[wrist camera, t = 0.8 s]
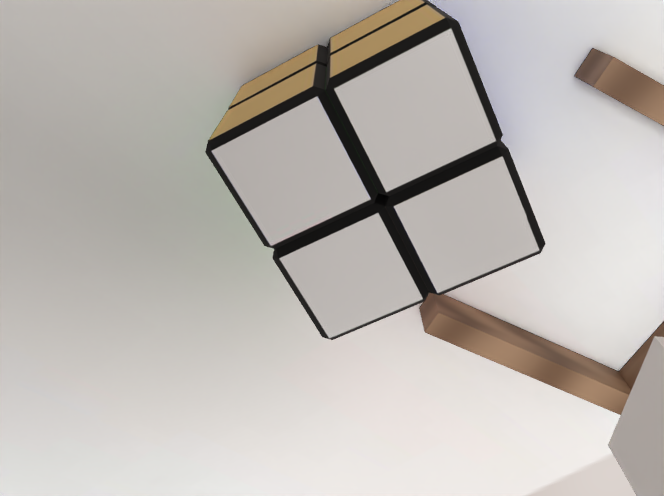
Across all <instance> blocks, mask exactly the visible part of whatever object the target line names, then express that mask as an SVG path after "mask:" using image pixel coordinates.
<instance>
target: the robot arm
mask: <svg viewBox="0 0 664 496" xmlns="http://www.w3.org/2000/svg"><path fill="white" fill-rule="evenodd" d="M608 446H609V448H610V449H611V451H612V453H613V455H614V456H615V458H616V460H617V462H618V464H619V465H620V467H621V469H622V471H623V472H624V474H625V476H626V478H627V480H628V481H629V483H630V485H631V486H632V488H633V490H634V492H635V494H636V496H664V337H657V336H654V339H653V341H652V343H651V346H650V348H649V350H648V353H647V355H646V357H645V360H644V362H643V364H642V367H641V369H640V371H639V374H638V376H637V378H636V381H635V383H634V385H633V388H632V390H631V392H630V395H629V397H628V399H627V402H626V404H625V406H624V409H623V411H622V414H621V416H620V418H619V421H618V423H617V425H616V428H615V430H614V432H613V435H612V437H611V439H610V442H609V444H608Z"/></svg>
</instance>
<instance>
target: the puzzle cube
mask: <svg viewBox="0 0 664 496" xmlns="http://www.w3.org/2000/svg"><path fill="white" fill-rule="evenodd" d="M502 135H503V134H502V132H501V129H500V127H499V124H498V122H497V119H496V116H495V114H494V111H493V109H492V106H491V104H490V101H489V99H488V96H487V93H486V91H485V88H484V86H483V83H482V81H481V78H480V76H479V73H478V71H477V68H476V65H475V63H474V60H473V58H472V55H471V53H470V50H469V48H468V45H467V43H466V40H465V37H464V35H463V32H462V30H461V27H460V25H459V22H458V21H457V20H455V19H454V18H452V17H451V16H449V15H448V14H446V13H445V12H443V11H442V10H440V9H439V8H437V7H436V6H435V5H433V4H432V3H430V2H429V1H427V0H399V1H398V2H396V3H394V4H392V5H390V6H388V7H386V8H385V9H383V10H381V11H379V12H377V13H375V14H374V15H372V16H370V17H368V18H366V19H364V20H362V21H361V22H359V23H357V24H355V25H353V26H351V27H350V28H348V29H346V30H344V31H342V32H340V33H338V34H337V35H335V36H333V37H331V38H330V40H329V44H328V47H324V46H321V45H316V46H314V47H313V48H311V49H309V50H307V51H305V52H303V53H301V54H300V55H298V56H296V57H294V58H292V59H290V60H289V61H287V62H285V63H283V64H281V65H279V66H277V67H276V68H274V69H272V70H270V71H268V72H266V73H265V74H263V75H261V76H259V77H257V78H255V79H254V80H252V81H250V82H248V83H246V84H244V85H242V86H241V88H240V90H239V91H238V93H237V95H236V96H235V98H234V100H233V101H232V103H231V105H230V106H229V109H228V111H227V112H226V113H225V115H224V117H223V118H222V120H221V121H220V123H219V124H218V126H217V128H216V129H215V131H214V132H213V134H212V136H211V137H210V139H209V140H208V144H207V148H206V154H207V155H208V157H209V159H210V160H211V162H212V163H213V165H214V167H215V168H216V170H217V171H218V173H219V174H220V176H221V178H222V179H223V181H224V182H225V184H226V186H227V187H228V189H229V190H230V192H231V193H232V195H233V197H234V198H235V200H236V201H237V203H238V205H239V206H240V208H241V209H242V211H243V212H244V214H245V216H246V217H247V219H248V220H249V222H250V224H251V225H252V227H253V228H254V230H255V231H256V233H257V235H258V236H259V238H260V239H261V241H262V242H263V244H264V246H267V247H270V248H274V253H273V260H274V261H275V263H276V264H277V266H278V267H279V269H280V271H281V272H282V274H283V275H284V277H285V279H286V280H287V282H288V283H289V285H290V286H291V288H292V290H293V291H294V293H295V294H296V296H297V298H298V299H299V301H300V302H301V304H302V305H303V307H304V309H305V310H306V312H307V313H308V315H309V317H310V318H311V320H312V321H313V323H314V324H315V326H316V328H317V329H318V331H319V332H320V334H321V336H322V337H324V338H327V339H331V340H333V339H336V338H338V337H340V336H343V335H345V334H348V333H350V332H352V331H355V330H357V329H360V328H362V327H364V326H367V325H369V324H371V323H374V322H376V321H379V320H381V319H383V318H386V317H388V316H391V315H393V314H395V313H398V312H400V311H403V310H405V309H407V308H410V307H412V306H414V305H417V304H419V303H422V302H424V301H425V300H426V298H427V296H428V294H429V293H433V294H436V295H442V294H444V293H446V292H449V291H451V290H454V289H456V288H458V287H461V286H463V285H466V284H468V283H470V282H473V281H475V280H478V279H480V278H482V277H485V276H487V275H489V274H492V273H494V272H497V271H499V270H501V269H504V268H506V267H509V266H511V265H513V264H516V263H518V262H521V261H523V260H525V259H528V258H530V257H532V256H535V255H537V254H540V253H541V251H542V249H543V247H544V246H545V241H544V239H543V236H542V234H541V231H540V228H539V226H538V223H537V221H536V218H535V216H534V213H533V211H532V208H531V206H530V203H529V200H528V198H527V195H526V193H525V190H524V188H523V185H522V183H521V180H520V178H519V175H518V172H517V170H516V167H515V165H514V162H513V160H512V157H511V155H510V152H509V150H508V148H507V147H506V146H505V145H504V144H503V142H502V141H501V137H502Z"/></svg>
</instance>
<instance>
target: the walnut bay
mask: <svg viewBox="0 0 664 496" xmlns="http://www.w3.org/2000/svg"><path fill="white" fill-rule="evenodd" d="M574 76H575V77H577V78H579V79H581V80H582V81H584V82H586V83H587V84H589V85H591V86H593V87H594V88H596V89H598V90H600V91H602V92H603V93H605V94H607V95H609V96H611V97H612V98H614V99H616V100H618V101H620V102H622V103H623V104H625V105H627V106H629V107H631V108H632V109H634V110H636V111H638V112H640V113H641V114H643V115H645V116H647V117H649V118H650V119H652V120H654V121H656V122H658V123H659V124H661V125H663V126H664V85H662V84H660V83H658V82H657V81H655V80H653V79H651V78H650V77H648V76H646V75H644V74H643V73H641V72H639V71H637V70H636V69H634V68H632V67H630V66H629V65H627V64H625V63H623V62H622V61H620V60H618V59H616V58H615V57H613V56H610V55H608V54H605V53H603V52H601V51H598V50H596V49H594V48H592V50H591V51H590V53H589V54H588V56H587V57H586V59H585V60H584V62H583V63H582V65H581V66H580V68H579V69H578V71H577V72H576V74H575V75H574ZM419 309H420V313H421V318H422V322H423V326H424V330H425V333H428V334H430V335H432V336H435V337H437V338H440V339H442V340H444V341H447V342H449V343H451V344H454V345H456V346H459V347H461V348H463V349H466V350H468V351H470V352H473V353H475V354H477V355H480V356H482V357H485V358H487V359H489V360H492V361H494V362H496V363H499V364H501V365H504V366H506V367H508V368H511V369H513V370H515V371H518V372H520V373H522V374H525V375H527V376H530V377H532V378H534V379H537V380H539V381H541V382H544V383H546V384H549V385H551V386H553V387H556V388H558V389H560V390H563V391H565V392H567V393H570V394H572V395H575V396H577V397H579V398H582V399H584V400H586V401H589V402H591V403H594V404H596V405H598V406H601V407H603V408H605V409H608V410H610V411H612V412H615V413H617V414H620V415H621V414H622V411H623V409H624V406H625V404H626V402H627V399H628V397H629V395H630V392H631V390H632V388H633V385H634V383H635V381H636V378H637V376H638V374H639V371H640V369H641V367H642V364H643V362H644V360H645V357H646V355H647V353H648V350H649V348H650V346H651V343H652V341H653V339H654V336H657V337H664V322H663V323H662V324H661V325H660V327H659V328H658V329H657V330H656V331H655V332H654V333H653V334H652V335H651V337H650V338H649V339H648V340H647V341H646V342H645V343H644V344H643V345H642V347H641V348H640V349H639V350H638V351H637V352H636V353H635V354H634V355H633V357H632V358H631V359H630V360H629V361H628V362H627V363H626V364H625V365H624V367H623V368H622V369H621V370H620V371H619V372H618V371H616V370H614V369H612V368H609V367H607V366H605V365H602V364H600V363H598V362H596V361H593V360H591V359H589V358H587V357H584V356H582V355H580V354H577V353H575V352H573V351H571V350H568V349H566V348H564V347H562V346H559V345H557V344H555V343H552V342H550V341H548V340H546V339H543V338H541V337H539V336H537V335H534V334H532V333H530V332H527V331H525V330H523V329H521V328H518V327H516V326H514V325H512V324H509V323H507V322H505V321H502V320H500V319H498V318H496V317H493V316H491V315H489V314H487V313H484V312H482V311H480V310H477V309H475V308H473V307H471V306H468V305H466V304H464V303H462V302H459V301H457V300H455V299H452V298H450V297H448V296H446V295H443V294H442V295H436V294H433V293H429V295H428V296H427V298H426V300H425V301H424V302H423V304H422V305H421V307H420V308H419Z"/></svg>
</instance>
